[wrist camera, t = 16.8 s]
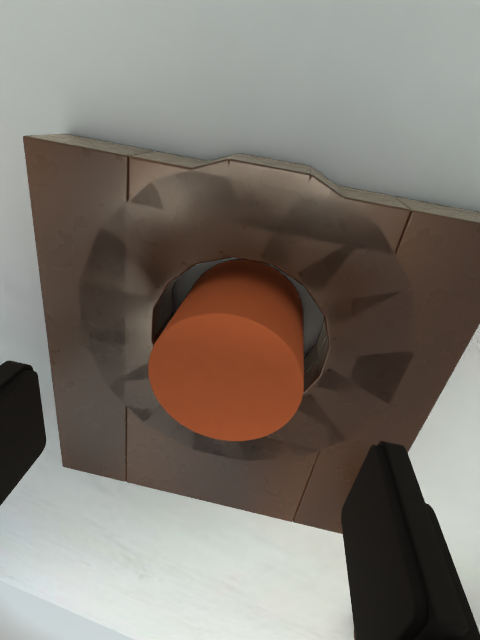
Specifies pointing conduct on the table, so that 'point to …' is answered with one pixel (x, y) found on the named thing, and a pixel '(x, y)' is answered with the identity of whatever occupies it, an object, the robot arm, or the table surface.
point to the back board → (261, 246)
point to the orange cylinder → (232, 354)
